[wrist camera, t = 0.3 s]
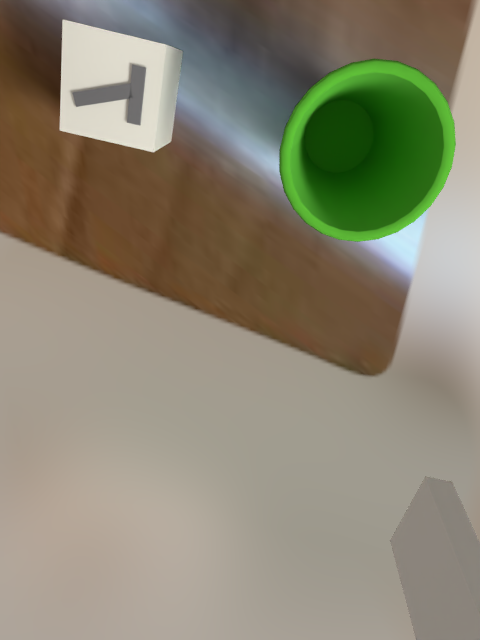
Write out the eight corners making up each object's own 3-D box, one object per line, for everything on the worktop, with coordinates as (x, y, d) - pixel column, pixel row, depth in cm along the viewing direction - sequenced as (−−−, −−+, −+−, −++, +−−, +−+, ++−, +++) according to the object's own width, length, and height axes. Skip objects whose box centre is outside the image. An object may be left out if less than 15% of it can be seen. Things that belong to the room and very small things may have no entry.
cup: (385, 204, 36) (429, 250, 26) (268, 192, 36) (269, 233, 26) (415, 73, 31) (482, 69, 22) (284, 60, 31) (291, 50, 22)
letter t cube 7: (94, 29, 31) (57, 18, 26) (183, 51, 32) (165, 44, 26) (89, 122, 34) (55, 130, 29) (171, 141, 34) (152, 152, 29)
